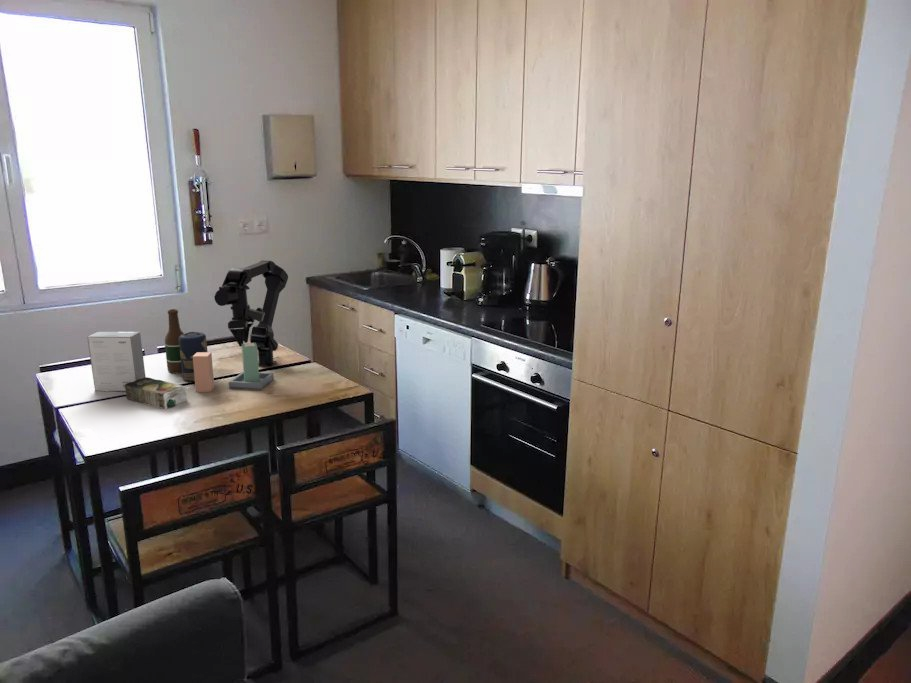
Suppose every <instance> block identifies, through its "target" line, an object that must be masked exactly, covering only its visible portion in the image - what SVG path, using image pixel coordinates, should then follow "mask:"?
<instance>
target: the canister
mask: <svg viewBox="0 0 911 683" xmlns="http://www.w3.org/2000/svg"><path fill="white" fill-rule="evenodd" d="M207 343H208V342H207V335H206V334H205V333H204V332H200V331H189V332H185V333H184V334H182V335H180V336H179V347H180V356H181V366H182V373H181V374H182V378H183V380H185V381H189V382H195V377H194V366H193V356H194V355H195V354H196V353H197V352H209V351H208V344H207Z"/></svg>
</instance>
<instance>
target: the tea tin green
mask: <svg viewBox="0 0 911 683" xmlns="http://www.w3.org/2000/svg"><path fill="white" fill-rule="evenodd" d="M241 355H242V372H244V382H260V380H259V373H260V366H259V365H258V362H259V359H258V350H257V344H256V343H251V342H247V343H243V344H242V347H241Z"/></svg>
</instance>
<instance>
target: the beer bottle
mask: <svg viewBox="0 0 911 683" xmlns="http://www.w3.org/2000/svg"><path fill="white" fill-rule="evenodd" d="M178 313H179V310H178V309H174V308H173V309H169V310H167V315H168V332H167V333H166V335H165V338H164V350H165V357H166V358H165V359H166V367H167V372H168V373H171V374H182V366H181V356H180V347H179V336H180V335H182V334H185V333H184V332H183V331H182V330H181V327H180V326H181V325H180V321H179V315H178Z"/></svg>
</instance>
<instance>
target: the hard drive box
mask: <svg viewBox="0 0 911 683" xmlns="http://www.w3.org/2000/svg"><path fill="white" fill-rule="evenodd" d="M141 338H142V337H141V331H97V332H95V333H92V334H90V335H88V336H87V346H88V351H89V353H88V354H89V357H90V358H89V359H90V365H91V371H92V379H93V387H94V391H102V392H103V391H104V392H108V391H109V392H126V391H125V384H127V383H130V382H134V381H136V380H139V379H142V378H145V377H147V376H146V369H145V363H144V362H145V361H144V353H143V346H142V339H141Z"/></svg>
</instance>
